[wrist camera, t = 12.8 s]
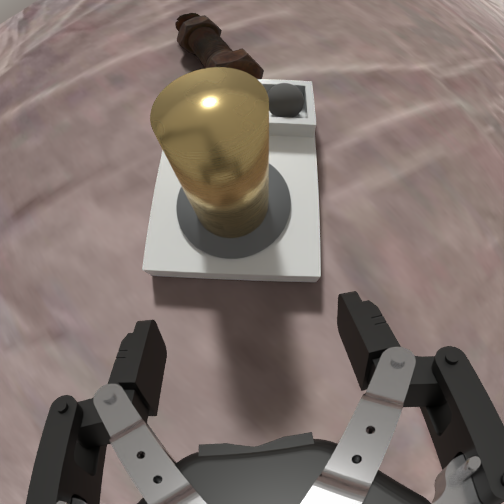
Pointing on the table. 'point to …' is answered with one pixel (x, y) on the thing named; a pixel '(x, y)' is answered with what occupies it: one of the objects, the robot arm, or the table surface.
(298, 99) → the rubber ball
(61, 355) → the table surface
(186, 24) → the bolt
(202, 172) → the ball
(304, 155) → the plate
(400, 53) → the table surface
